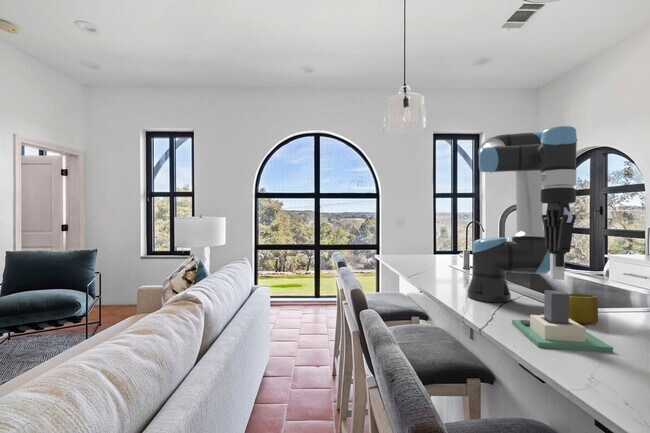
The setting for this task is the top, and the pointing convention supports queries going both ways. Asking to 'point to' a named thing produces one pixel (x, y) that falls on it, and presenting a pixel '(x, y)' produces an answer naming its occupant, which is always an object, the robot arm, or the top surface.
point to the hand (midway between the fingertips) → (556, 278)
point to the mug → (583, 308)
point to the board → (564, 344)
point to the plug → (556, 307)
